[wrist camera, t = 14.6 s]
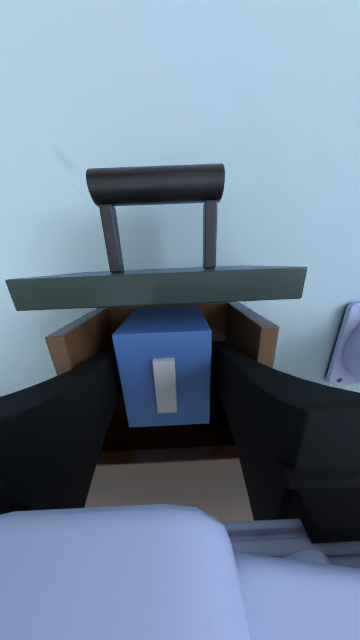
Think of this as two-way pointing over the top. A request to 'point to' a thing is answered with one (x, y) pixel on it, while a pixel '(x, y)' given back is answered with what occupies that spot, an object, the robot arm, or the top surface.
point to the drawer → (160, 295)
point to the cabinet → (173, 480)
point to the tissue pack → (165, 366)
